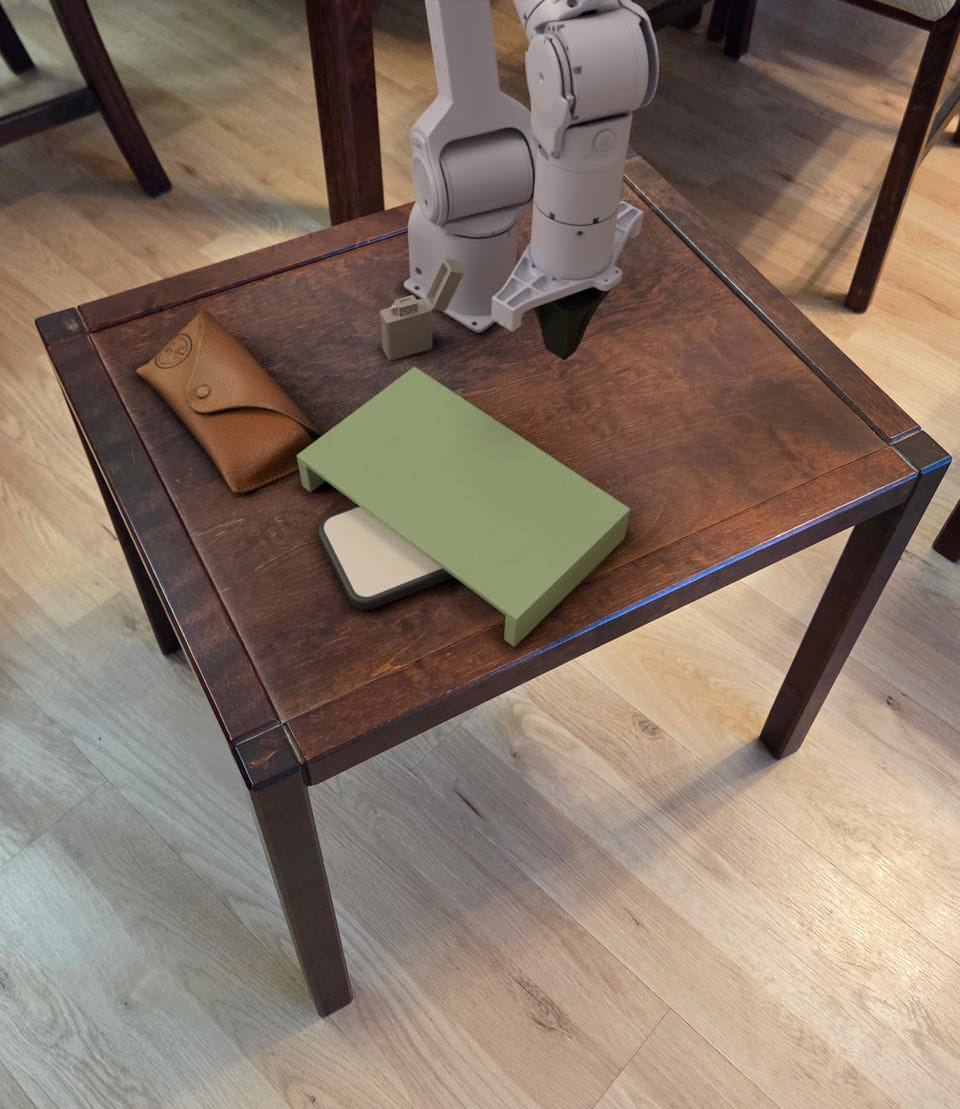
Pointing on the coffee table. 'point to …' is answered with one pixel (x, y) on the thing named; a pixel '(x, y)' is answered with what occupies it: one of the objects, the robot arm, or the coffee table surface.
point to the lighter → (418, 314)
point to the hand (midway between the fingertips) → (560, 349)
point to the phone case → (374, 559)
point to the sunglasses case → (230, 404)
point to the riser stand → (470, 496)
